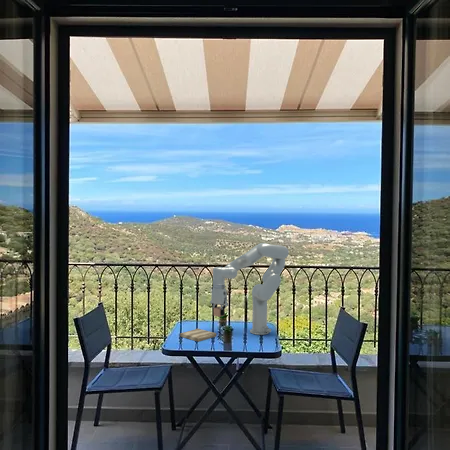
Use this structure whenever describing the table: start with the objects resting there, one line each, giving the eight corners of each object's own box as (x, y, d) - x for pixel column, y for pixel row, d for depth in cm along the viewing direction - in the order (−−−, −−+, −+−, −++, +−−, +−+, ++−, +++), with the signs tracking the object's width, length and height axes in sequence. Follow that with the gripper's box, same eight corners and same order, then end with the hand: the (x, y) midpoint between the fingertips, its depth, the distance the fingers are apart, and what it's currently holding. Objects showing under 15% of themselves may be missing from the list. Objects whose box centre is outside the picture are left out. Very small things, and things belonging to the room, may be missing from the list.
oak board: (216, 336, 248) (216, 333, 248) (198, 341, 236) (198, 338, 236) (198, 331, 259) (198, 328, 259) (180, 336, 246) (180, 333, 246)
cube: (224, 315, 254) (224, 307, 254) (219, 316, 251) (219, 308, 251) (218, 314, 258) (218, 306, 258) (213, 315, 254) (213, 307, 254)
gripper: (232, 286, 251) (233, 315, 251) (213, 284, 262) (213, 311, 262) (225, 288, 246) (225, 317, 246) (205, 285, 257) (205, 313, 257)
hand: (219, 314), depth 254 cm, fingers closed on cube, 5 cm apart
